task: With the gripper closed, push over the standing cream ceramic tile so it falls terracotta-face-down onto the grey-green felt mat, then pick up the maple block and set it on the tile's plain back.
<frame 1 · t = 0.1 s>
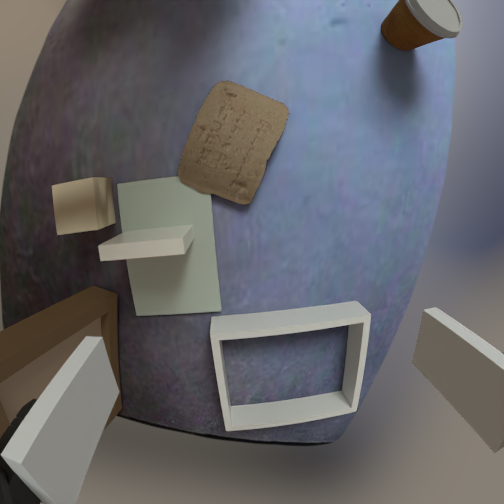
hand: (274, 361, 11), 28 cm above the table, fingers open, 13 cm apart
block: (94, 203, 35), on the table
photo frame: (79, 344, 39), on the table
disposable coffee cup: (397, 35, 33), on the table
clay tablet: (233, 140, 35), on the table, touching mat
white open rectangular frame: (288, 362, 43), on the table
mat: (169, 248, 37), on the table
tile: (158, 234, 36), point 1 cm above the table, touching mat
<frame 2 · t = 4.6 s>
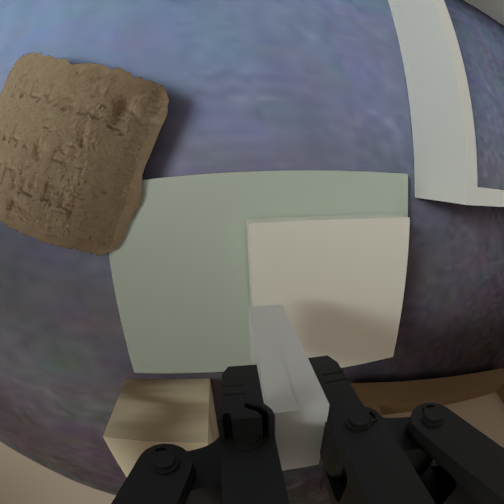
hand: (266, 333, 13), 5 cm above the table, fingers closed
block: (174, 409, 19), on the table
photo frame: (407, 428, 23), on the table
clay tablet: (49, 142, 14), on the table, touching mat
white open rectangular frame: (481, 80, 15), on the table
mat: (266, 277, 17), on the table
tile: (251, 304, 16), point 2 cm above the table, tilted 90°, touching mat
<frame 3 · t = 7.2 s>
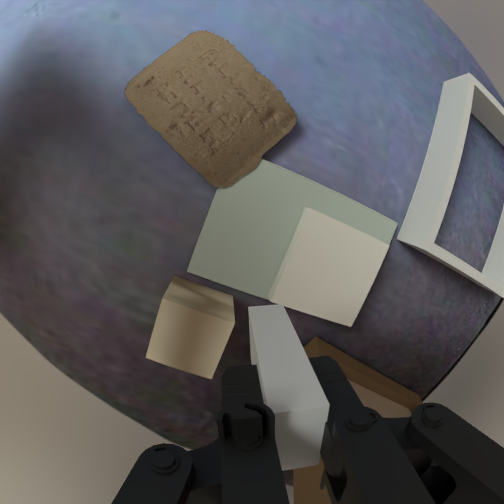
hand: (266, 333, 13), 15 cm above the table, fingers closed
block: (194, 312, 29), on the table
photo frame: (335, 407, 34), on the table
clay tablet: (207, 102, 24), on the table, touching mat
white open rectangular frame: (472, 189, 28), on the table
mat: (299, 244, 28), on the table
tile: (288, 253, 26), point 2 cm above the table, tilted 90°, touching mat
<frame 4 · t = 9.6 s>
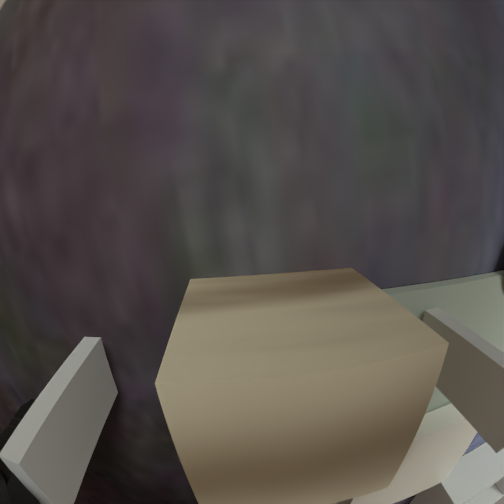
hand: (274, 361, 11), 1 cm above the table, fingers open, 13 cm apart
block: (275, 344, 11), on the table
white open rectangular frame: (471, 476, 19), on the table
mat: (432, 411, 14), on the table
tile: (437, 419, 12), point 2 cm above the table, tilted 90°, touching mat
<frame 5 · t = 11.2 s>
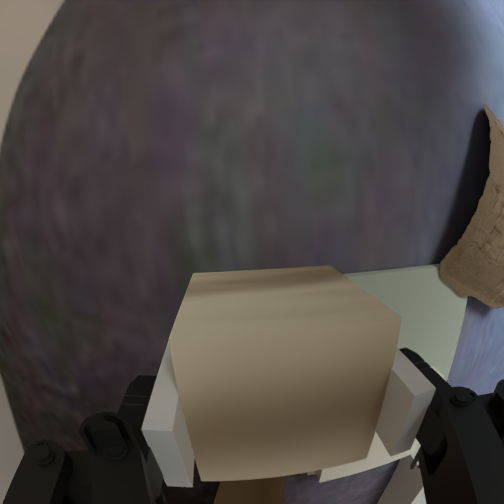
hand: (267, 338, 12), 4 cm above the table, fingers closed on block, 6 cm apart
block: (265, 332, 13), point 3 cm above the table, touching gripper
photo frame: (182, 502, 20), on the table
clay tablet: (495, 208, 17), on the table, touching mat
white open rectangular frame: (450, 461, 24), on the table
mat: (389, 383, 19), on the table
tile: (390, 386, 17), point 2 cm above the table, tilted 90°, touching mat
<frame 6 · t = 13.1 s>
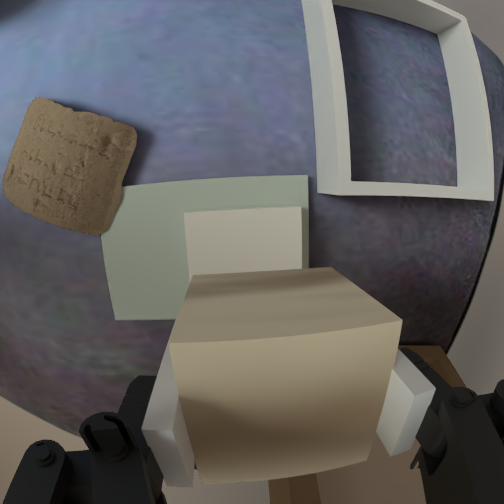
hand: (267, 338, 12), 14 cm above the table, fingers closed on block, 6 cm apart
block: (265, 334, 13), point 13 cm above the table, touching gripper
photo frame: (343, 392, 30), on the table
clay tablet: (61, 160, 22), on the table, touching mat
white open rectangular frame: (396, 90, 23), on the table
mat: (203, 250, 25), on the table
tile: (189, 267, 24), point 2 cm above the table, tilted 90°, touching mat
when the fingers open (3 cm above the table, at t = 15.1 s): block stays where it is, resting on tile.
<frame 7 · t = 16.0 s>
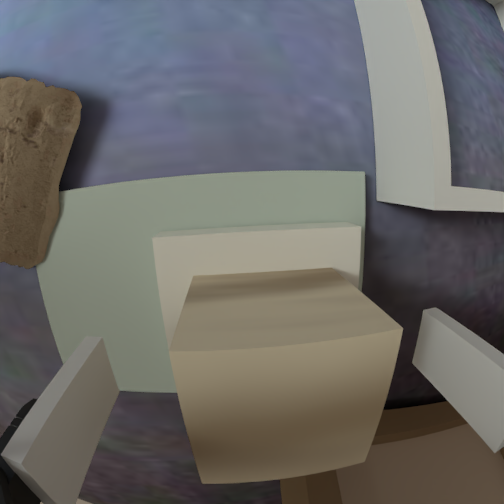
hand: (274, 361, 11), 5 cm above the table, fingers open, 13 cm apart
block: (265, 334, 13), point 2 cm above the table, touching tile
photo frame: (379, 454, 20), on the table
white open rectangular frame: (466, 61, 13), on the table
mat: (191, 295, 15), on the table
tile: (168, 326, 14), point 2 cm above the table, tilted 90°, touching block, mat
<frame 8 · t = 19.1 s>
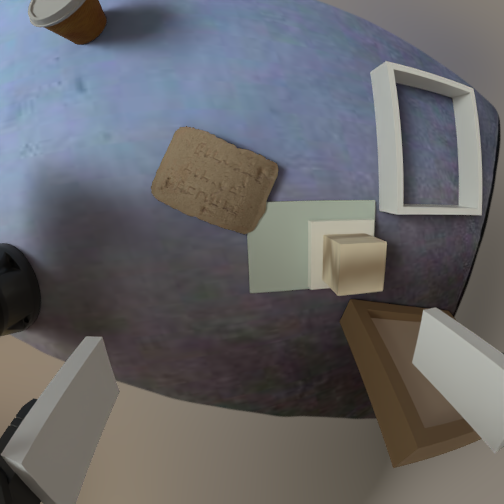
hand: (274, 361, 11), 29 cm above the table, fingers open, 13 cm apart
block: (344, 256, 38), point 2 cm above the table, touching tile
photo frame: (388, 342, 45), on the table
disposable coffee cup: (88, 28, 29), on the table
clay tablet: (213, 179, 36), on the table, touching mat
white open rectangular frame: (424, 144, 38), on the table
mat: (314, 244, 40), on the table
tile: (309, 255, 38), point 2 cm above the table, tilted 90°, touching block, mat
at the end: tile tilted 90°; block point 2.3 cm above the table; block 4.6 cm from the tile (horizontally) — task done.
